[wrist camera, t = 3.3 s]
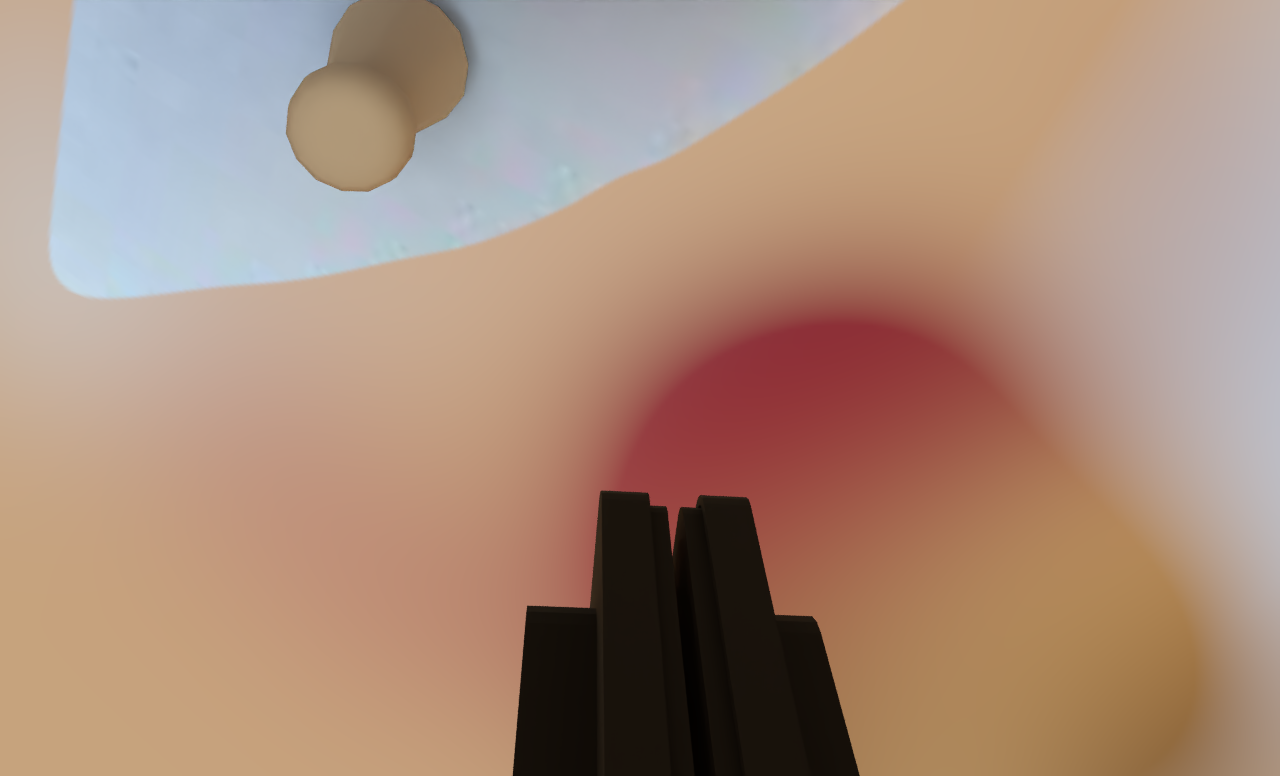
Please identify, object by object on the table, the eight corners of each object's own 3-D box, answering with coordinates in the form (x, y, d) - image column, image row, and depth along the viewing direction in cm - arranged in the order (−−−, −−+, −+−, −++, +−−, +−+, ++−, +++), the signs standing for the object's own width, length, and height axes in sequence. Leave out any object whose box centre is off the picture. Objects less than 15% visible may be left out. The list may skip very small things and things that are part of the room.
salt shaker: (500, 63, 44) (467, 157, 33) (407, 138, 45) (347, 252, 34) (409, -49, 41) (341, 13, 30) (315, 35, 43) (218, 123, 32)
